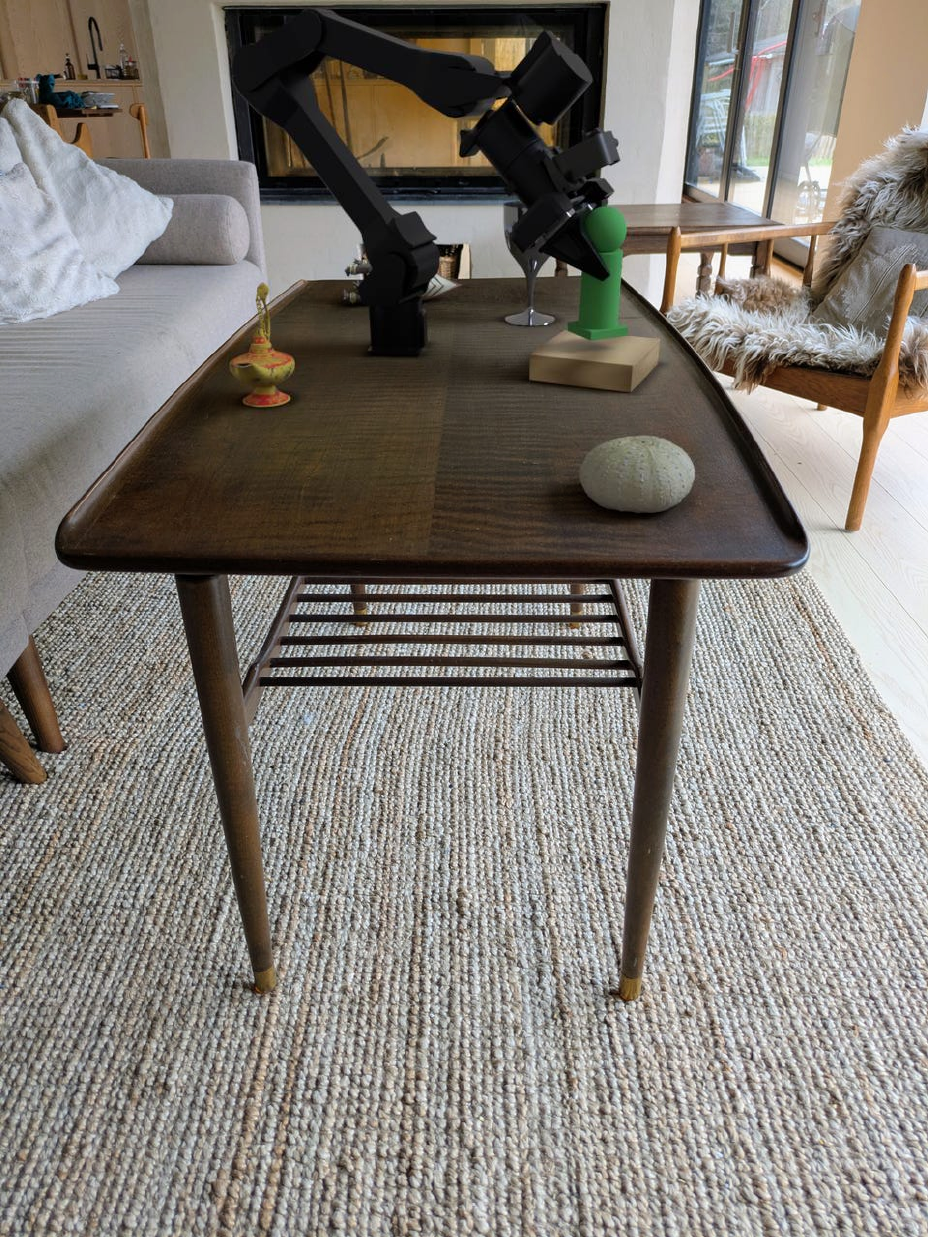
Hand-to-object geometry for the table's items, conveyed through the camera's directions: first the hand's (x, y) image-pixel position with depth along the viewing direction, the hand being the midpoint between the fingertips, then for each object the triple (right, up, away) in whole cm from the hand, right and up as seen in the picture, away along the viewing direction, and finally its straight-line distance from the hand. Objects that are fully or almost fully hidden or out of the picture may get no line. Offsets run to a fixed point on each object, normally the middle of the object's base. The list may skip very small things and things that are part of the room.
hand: (613, 274), depth 100 cm
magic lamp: (-38, -15, -3) cm, 41 cm away
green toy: (-1, -5, +4) cm, 7 cm away
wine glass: (-7, +4, +28) cm, 30 cm away
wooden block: (-1, -9, +6) cm, 11 cm away
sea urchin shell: (-2, -28, -24) cm, 37 cm away
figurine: (-26, +11, +40) cm, 49 cm away
